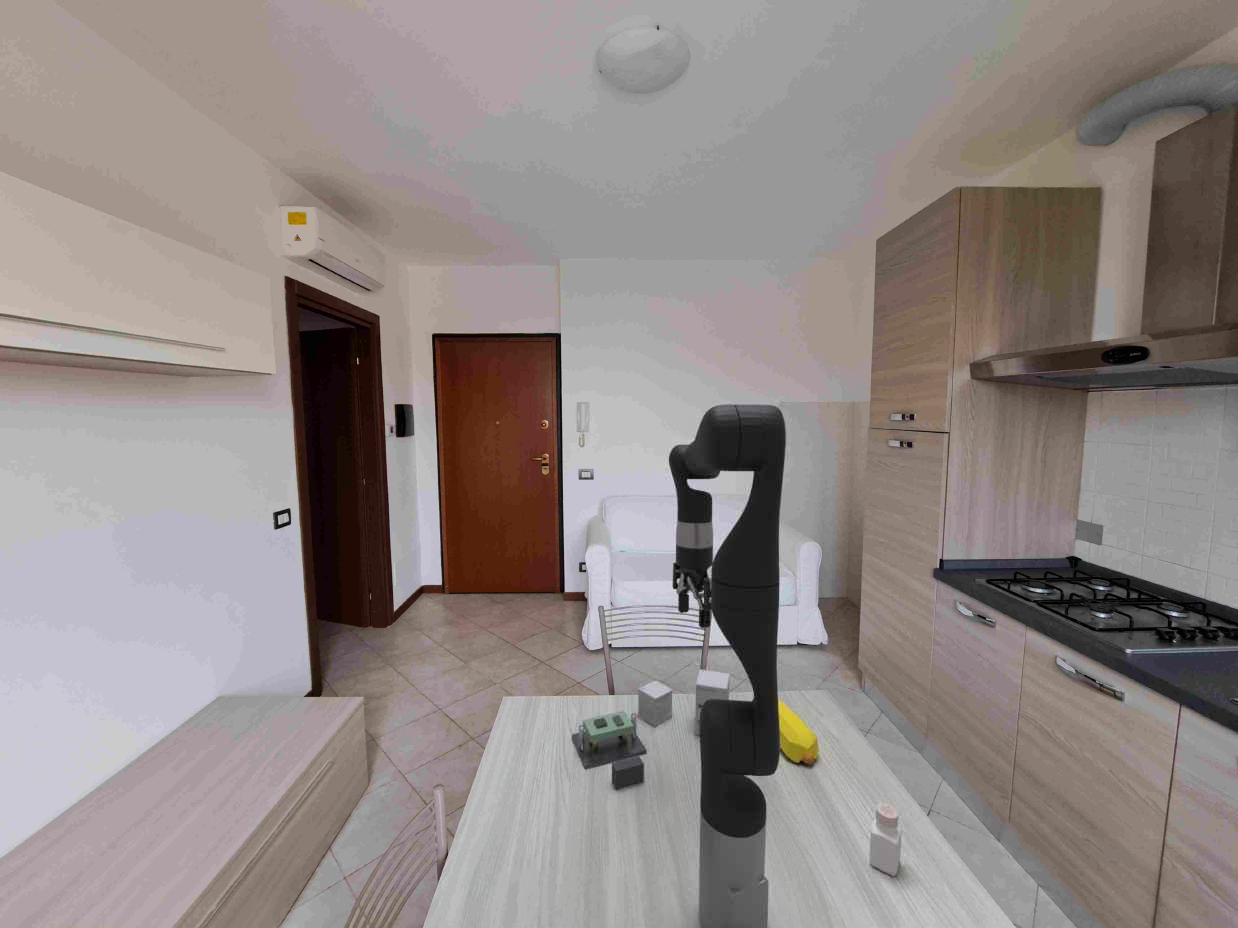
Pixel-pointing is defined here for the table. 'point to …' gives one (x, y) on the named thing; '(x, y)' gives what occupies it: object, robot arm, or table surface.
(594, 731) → the board
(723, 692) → the supplement box
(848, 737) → the table surface
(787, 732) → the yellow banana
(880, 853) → the salt shaker
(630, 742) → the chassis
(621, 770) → the block
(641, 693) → the product box
